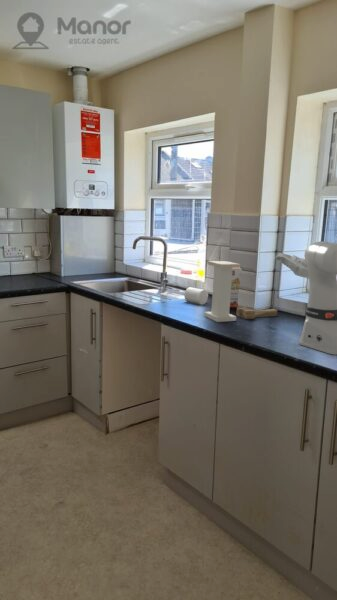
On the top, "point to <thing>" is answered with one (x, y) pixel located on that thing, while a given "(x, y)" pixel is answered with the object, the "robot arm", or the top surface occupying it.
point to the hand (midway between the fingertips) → (282, 261)
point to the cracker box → (235, 286)
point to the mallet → (254, 313)
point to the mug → (196, 295)
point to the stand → (221, 291)
